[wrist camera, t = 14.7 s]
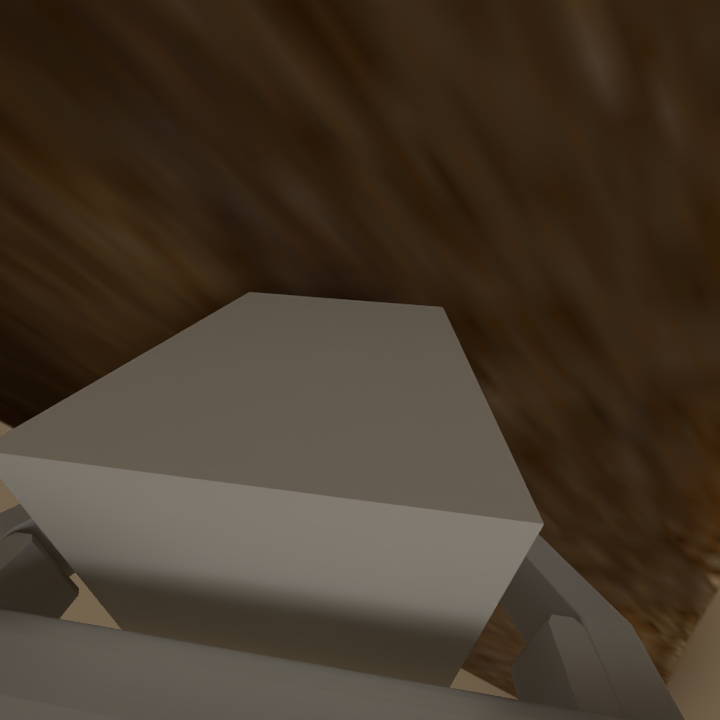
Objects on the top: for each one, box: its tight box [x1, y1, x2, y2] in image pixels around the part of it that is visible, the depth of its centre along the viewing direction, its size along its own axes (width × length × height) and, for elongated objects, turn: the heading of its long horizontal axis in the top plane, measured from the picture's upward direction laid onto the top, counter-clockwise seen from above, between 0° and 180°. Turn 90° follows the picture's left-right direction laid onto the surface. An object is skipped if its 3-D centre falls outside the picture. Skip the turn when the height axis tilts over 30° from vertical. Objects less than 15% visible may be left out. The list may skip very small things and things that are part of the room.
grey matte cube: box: [0, 292, 544, 688], centre depth 9 cm, size 7×7×8 cm
